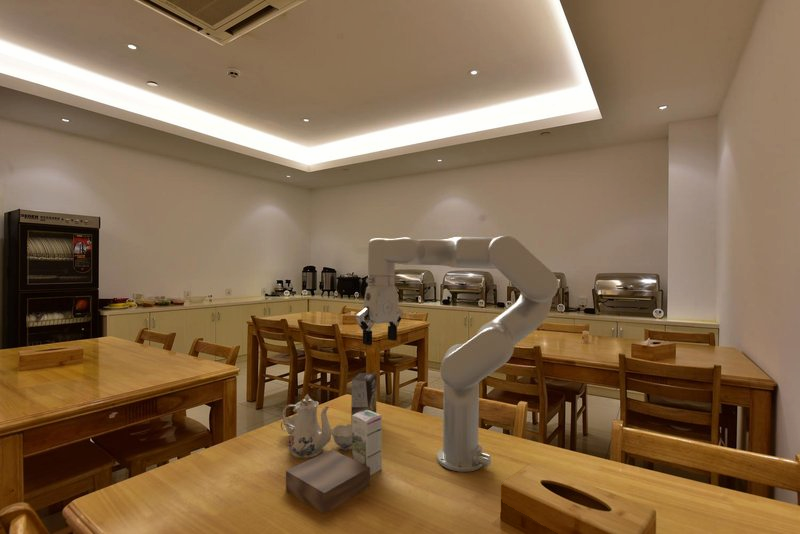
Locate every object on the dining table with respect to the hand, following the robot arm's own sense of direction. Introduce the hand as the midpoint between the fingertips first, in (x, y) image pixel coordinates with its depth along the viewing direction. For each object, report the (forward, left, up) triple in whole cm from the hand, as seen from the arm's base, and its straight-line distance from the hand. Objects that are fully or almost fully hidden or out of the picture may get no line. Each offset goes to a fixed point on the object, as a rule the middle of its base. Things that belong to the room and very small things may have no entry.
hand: (380, 342), depth 113 cm
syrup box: (-4, +9, -32) cm, 33 cm away
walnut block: (-3, +21, -32) cm, 38 cm away
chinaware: (+17, +10, -32) cm, 37 cm away
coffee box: (+17, -11, -32) cm, 37 cm away
